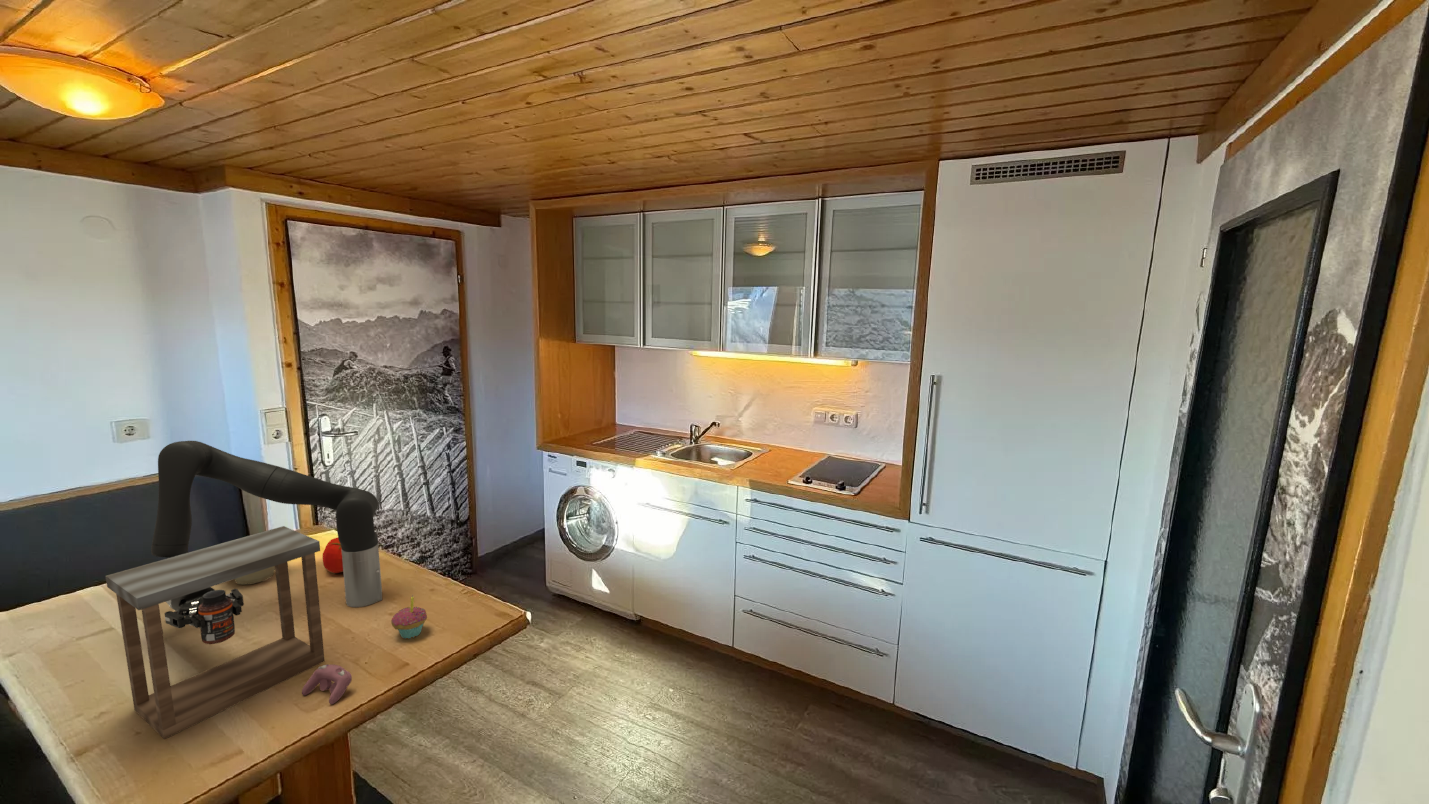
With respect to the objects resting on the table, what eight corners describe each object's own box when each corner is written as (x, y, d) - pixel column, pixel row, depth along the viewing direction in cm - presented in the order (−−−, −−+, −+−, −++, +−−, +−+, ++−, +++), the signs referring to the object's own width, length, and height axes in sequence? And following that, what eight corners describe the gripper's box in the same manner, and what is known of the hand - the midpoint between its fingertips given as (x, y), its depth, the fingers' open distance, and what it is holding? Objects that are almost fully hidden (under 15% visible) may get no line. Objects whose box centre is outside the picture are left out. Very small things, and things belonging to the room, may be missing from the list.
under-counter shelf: (127, 712, 121) (105, 575, 116) (295, 638, 149) (283, 526, 144) (158, 743, 113) (136, 598, 108) (330, 659, 141) (319, 541, 135)
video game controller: (348, 702, 128) (358, 669, 130) (330, 705, 124) (341, 671, 126) (316, 692, 131) (326, 660, 133) (297, 695, 127) (309, 662, 129)
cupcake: (435, 630, 155) (432, 589, 153) (406, 646, 147) (404, 604, 145) (413, 622, 158) (411, 582, 156) (385, 637, 151) (382, 596, 149)
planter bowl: (260, 591, 172) (256, 558, 170) (208, 589, 172) (203, 556, 170) (299, 567, 188) (296, 536, 186) (251, 565, 188) (248, 535, 186)
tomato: (319, 568, 188) (317, 538, 186) (365, 556, 197) (363, 528, 195) (328, 583, 178) (325, 551, 176) (375, 570, 187) (373, 540, 186)
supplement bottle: (215, 647, 129) (209, 601, 127) (195, 643, 130) (189, 598, 128) (242, 632, 135) (237, 589, 133) (222, 629, 136) (216, 585, 134)
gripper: (148, 595, 131) (178, 617, 123) (225, 571, 144) (256, 589, 136) (153, 624, 133) (182, 648, 125) (228, 598, 145) (259, 618, 137)
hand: (221, 617), depth 130 cm, fingers closed on supplement bottle, 6 cm apart
